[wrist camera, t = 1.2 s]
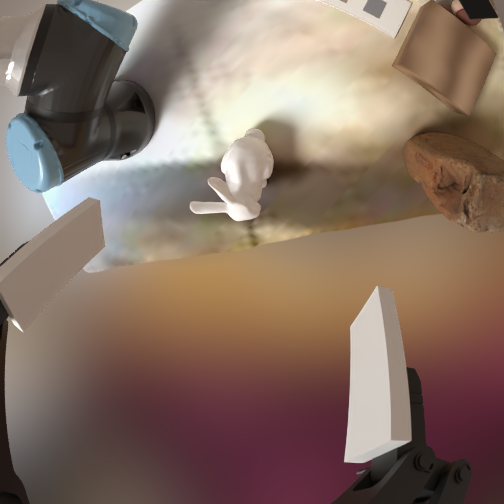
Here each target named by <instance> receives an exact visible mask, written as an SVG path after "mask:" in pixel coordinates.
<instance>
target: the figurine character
mask: <svg viewBox="0 0 504 504" xmlns="http://www.w3.org/2000/svg"><path fill="white" fill-rule="evenodd" d="M451 8H452V12H453V14H454V15H455V17H456V18H458V19H459V20H460V21H461V22H463V23H464V24H467V25H477V24H478V23H479V22H480V21H481V19H486V18H498V16H497V14H496V12H495V10H494V9H493V7H492V5H491V3H490V2H489V0H453V1H452V4H451Z"/></svg>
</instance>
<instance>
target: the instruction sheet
mask: <svg viewBox="0 0 504 504" xmlns="http://www.w3.org/2000/svg"><path fill="white" fill-rule="evenodd" d="M316 1H319V2H321V3H324V4H326V5H329V6H331V7H334V8H336V9H338V10H341V11H343V12H345V13H347V14H349V15H352V16H354V17H356V18H358V19H360V20H362V21H364V22H366V23H368V24H370V25H371V26H373V27H375V28H377V29H379V30H381V31H382V32H384V33H386V34H387V35H389V36H391V37H393V38H395V36H396V34H397V32H398V30H399V28H400V26H401V24H402V22H403V20H404V18H405V16H406V14H407V12H408V10H409V8H410V6H411V2H409V1H407V0H316Z"/></svg>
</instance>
